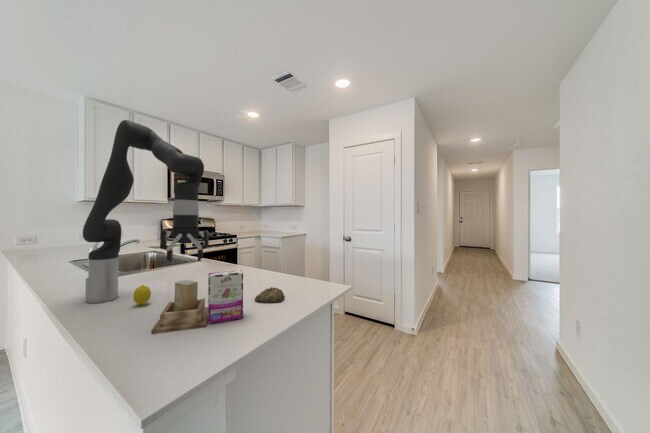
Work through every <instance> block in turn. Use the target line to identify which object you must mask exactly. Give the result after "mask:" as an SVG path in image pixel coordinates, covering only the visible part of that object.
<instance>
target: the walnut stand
mask: <svg viewBox="0 0 650 433" xmlns="http://www.w3.org/2000/svg"><path fill="white" fill-rule="evenodd" d="M205 299H206V298H197V309H195V310H185V311H175V312H174V301H169V302H168V303H167V305H166V306H165V307H164V308H163V309H162V311H161V313H160V314H159V319H158V320H157V322H156V323H155V325H154V326H153V328H152V329H151V332H150V333H151V334H152V335H153V334H154V335H155V334H161V333H171V332H177V331H178V332H179V331H185V330H192V329H193V330H194V329H200V328H207V324H208V306H205V304H206V302H205V301H206V300H205Z"/></svg>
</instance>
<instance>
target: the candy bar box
mask: <svg viewBox="0 0 650 433" xmlns="http://www.w3.org/2000/svg"><path fill="white" fill-rule="evenodd" d="M207 275H208V278H207V281H208V282H207V283H208V284H207V285H208V287H207V288H208V290H207V291H208V292H207V295H208V298H207V304H208V306H207V307H208V321H207V324H208V325H214V324H219V323H226V322H231V321H236V320H242V319H244V271H243V270H241V269H239V270H229V271H227V270H226V271H218V272H217V271H216V272H208V274H207Z"/></svg>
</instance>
